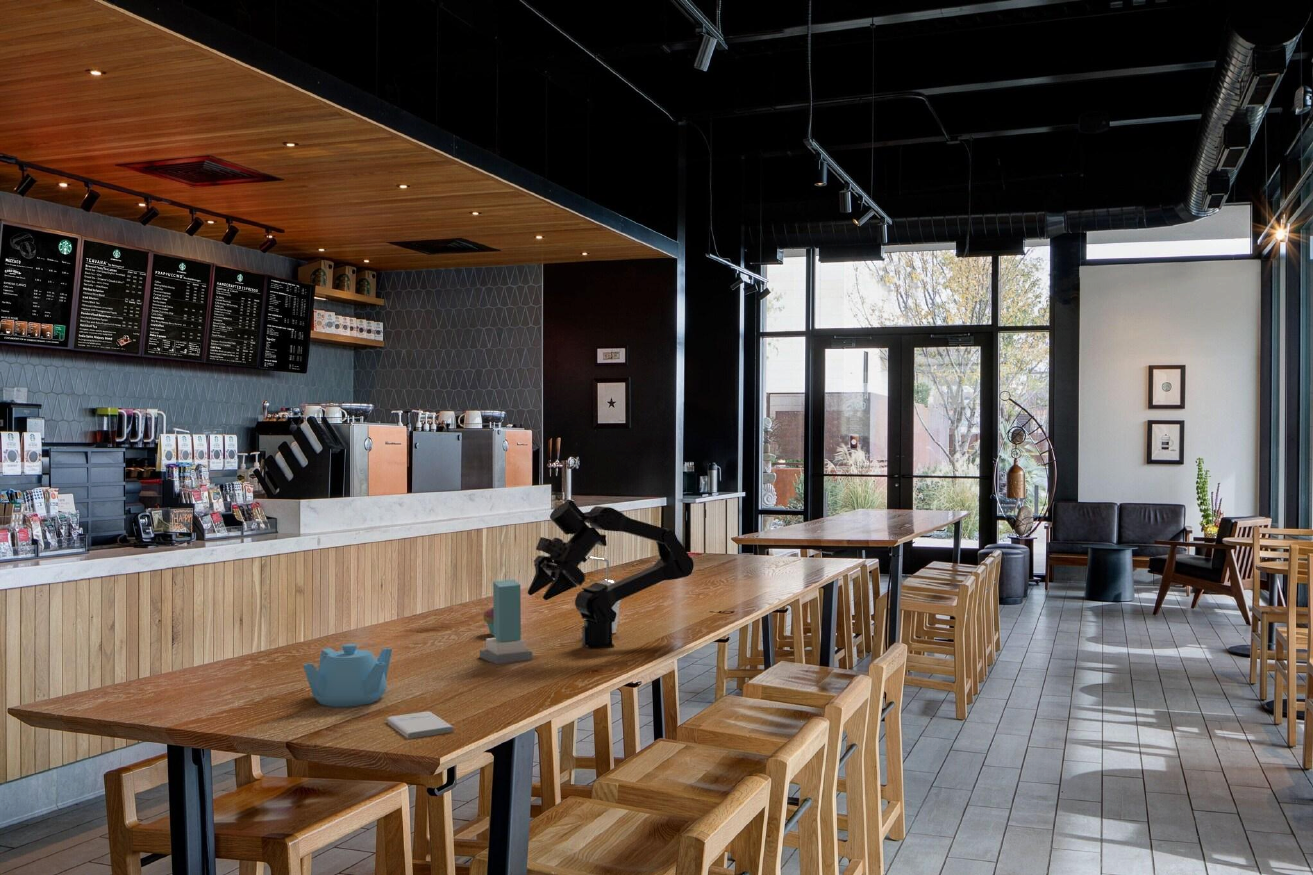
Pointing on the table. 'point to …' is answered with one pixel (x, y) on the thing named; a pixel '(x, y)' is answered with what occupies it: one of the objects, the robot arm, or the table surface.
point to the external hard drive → (419, 724)
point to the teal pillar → (507, 610)
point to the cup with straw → (608, 582)
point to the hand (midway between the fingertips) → (536, 596)
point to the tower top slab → (505, 646)
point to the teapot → (348, 676)
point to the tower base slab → (505, 656)
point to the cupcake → (489, 619)
